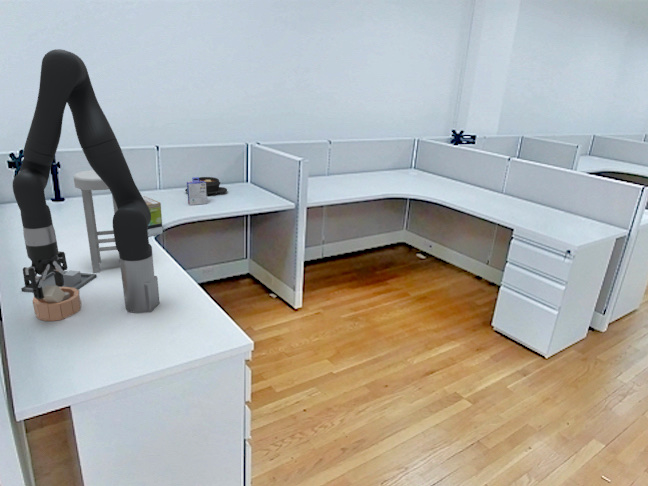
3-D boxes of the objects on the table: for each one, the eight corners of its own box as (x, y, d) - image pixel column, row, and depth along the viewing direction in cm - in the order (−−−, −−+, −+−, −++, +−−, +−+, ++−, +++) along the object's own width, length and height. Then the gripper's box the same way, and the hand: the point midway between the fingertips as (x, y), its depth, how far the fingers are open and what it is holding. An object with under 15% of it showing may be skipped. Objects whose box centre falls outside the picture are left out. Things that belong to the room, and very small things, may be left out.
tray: (97, 277, 158) (96, 274, 157) (68, 297, 144) (67, 293, 143) (54, 273, 160) (53, 269, 159) (22, 292, 146) (21, 288, 145)
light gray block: (81, 283, 153) (80, 271, 151) (75, 288, 149) (73, 275, 148) (72, 282, 153) (70, 270, 151) (65, 286, 150) (62, 274, 148)
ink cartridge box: (205, 201, 256) (203, 176, 251) (207, 204, 252) (206, 178, 247) (187, 202, 252) (185, 177, 247) (189, 205, 247) (188, 179, 242)
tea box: (163, 233, 204) (161, 202, 198) (142, 238, 197) (139, 205, 191) (147, 225, 213) (145, 195, 208) (127, 229, 206) (123, 198, 201)
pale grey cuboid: (72, 306, 137) (69, 292, 136) (62, 311, 134) (60, 298, 132) (62, 304, 138) (59, 291, 137) (52, 309, 135) (50, 296, 133)
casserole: (183, 196, 264) (183, 182, 261) (186, 189, 281) (185, 176, 278) (227, 196, 269) (227, 183, 266) (227, 189, 286) (227, 176, 283)
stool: (88, 260, 171) (75, 169, 159) (132, 256, 177) (123, 168, 165) (86, 277, 158) (71, 179, 146) (133, 271, 164) (123, 177, 152)
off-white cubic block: (65, 293, 133) (56, 285, 130) (60, 304, 131) (51, 296, 128) (54, 293, 134) (45, 285, 130) (48, 304, 131) (39, 296, 128)
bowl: (89, 304, 141) (87, 289, 139) (64, 323, 130) (61, 307, 128) (54, 300, 142) (51, 285, 140) (26, 318, 131) (23, 302, 129)
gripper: (34, 250, 119) (44, 304, 125) (69, 233, 132) (77, 283, 138) (8, 248, 120) (20, 301, 126) (46, 231, 133) (55, 280, 139)
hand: (50, 292), depth 132 cm, fingers open, 8 cm apart
